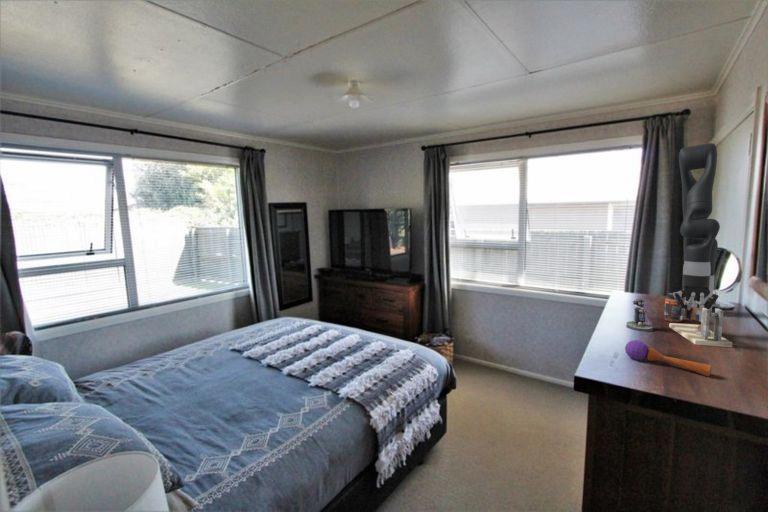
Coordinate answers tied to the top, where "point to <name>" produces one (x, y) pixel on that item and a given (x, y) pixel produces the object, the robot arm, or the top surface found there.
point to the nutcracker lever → (699, 312)
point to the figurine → (639, 318)
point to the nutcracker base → (704, 330)
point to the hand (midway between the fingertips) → (693, 319)
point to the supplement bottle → (672, 310)
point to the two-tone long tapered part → (663, 357)
